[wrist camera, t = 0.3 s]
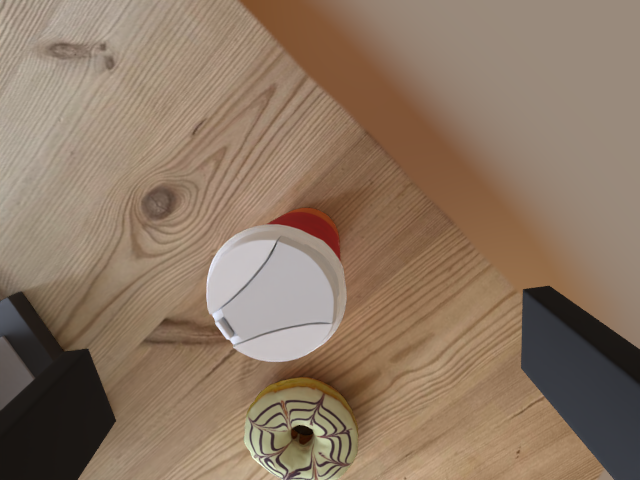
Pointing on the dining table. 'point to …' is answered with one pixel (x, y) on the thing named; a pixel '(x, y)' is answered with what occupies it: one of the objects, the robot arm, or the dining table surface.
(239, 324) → the paper cup
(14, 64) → the dining table surface
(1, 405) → the coffee maker
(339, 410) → the decorated donut
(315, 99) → the dining table surface
